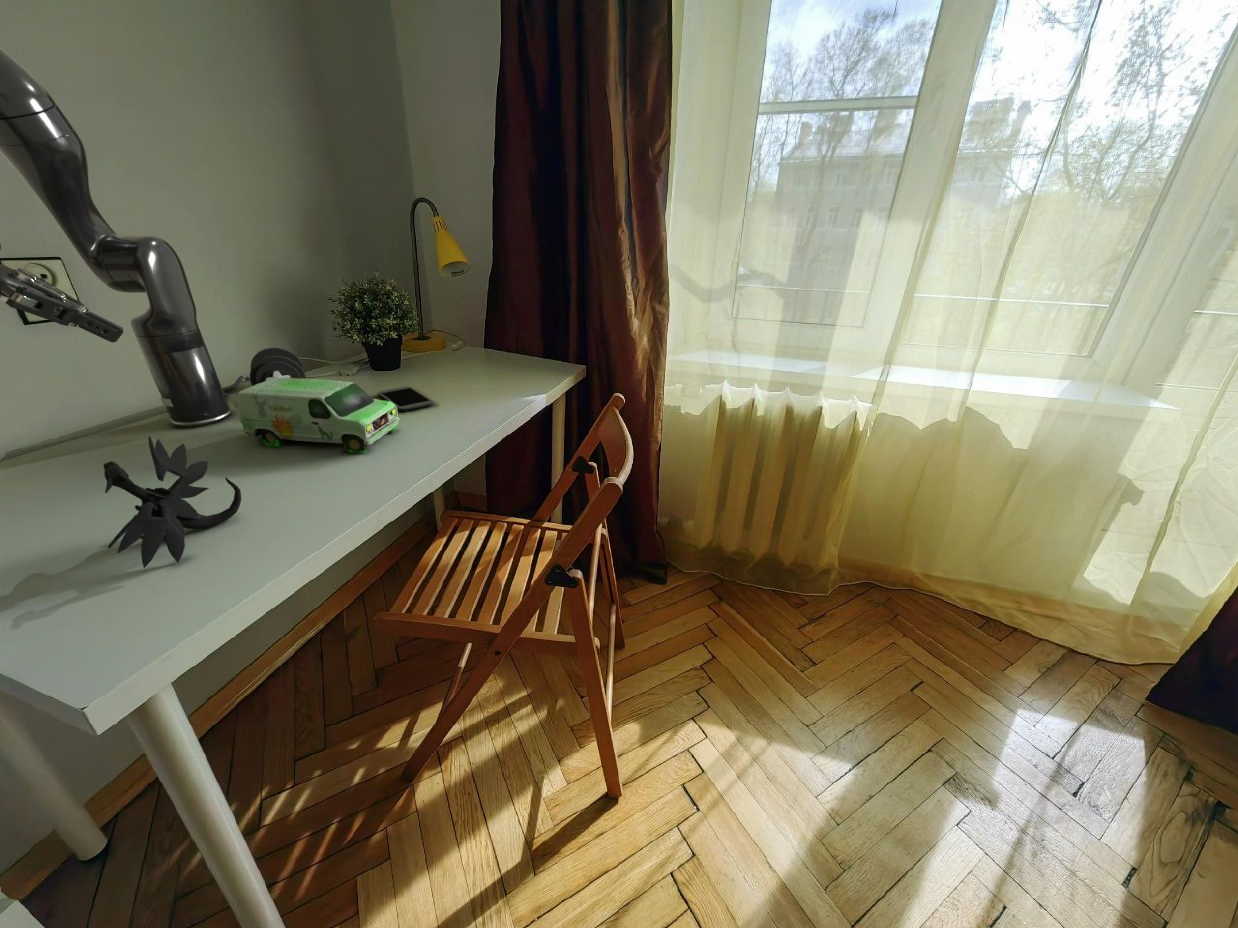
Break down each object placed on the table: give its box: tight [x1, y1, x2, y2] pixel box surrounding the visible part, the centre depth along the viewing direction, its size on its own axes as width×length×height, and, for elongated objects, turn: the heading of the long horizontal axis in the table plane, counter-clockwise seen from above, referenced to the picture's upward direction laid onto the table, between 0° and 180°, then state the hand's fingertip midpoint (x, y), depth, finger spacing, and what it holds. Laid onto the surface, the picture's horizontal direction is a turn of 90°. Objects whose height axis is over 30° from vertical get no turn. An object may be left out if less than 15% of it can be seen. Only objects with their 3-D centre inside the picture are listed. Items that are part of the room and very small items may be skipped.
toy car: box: [237, 378, 400, 454], centre depth 88 cm, size 11×25×10 cm, turn 81°
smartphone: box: [377, 386, 435, 412], centre depth 108 cm, size 7×15×1 cm, turn 42°
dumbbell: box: [249, 347, 307, 386], centre depth 108 cm, size 22×10×10 cm, turn 33°
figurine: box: [103, 436, 242, 569], centre depth 59 cm, size 16×13×11 cm
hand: (119, 336), depth 66 cm, fingers closed
